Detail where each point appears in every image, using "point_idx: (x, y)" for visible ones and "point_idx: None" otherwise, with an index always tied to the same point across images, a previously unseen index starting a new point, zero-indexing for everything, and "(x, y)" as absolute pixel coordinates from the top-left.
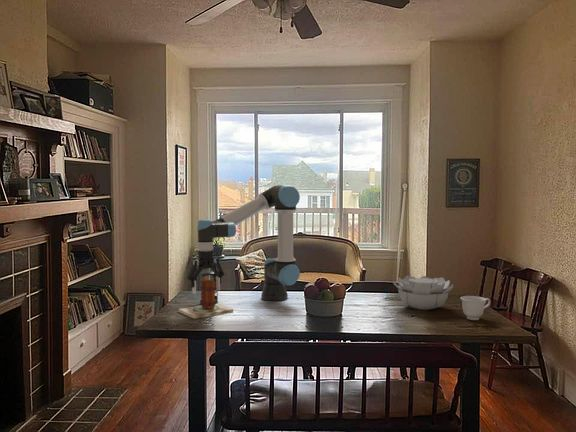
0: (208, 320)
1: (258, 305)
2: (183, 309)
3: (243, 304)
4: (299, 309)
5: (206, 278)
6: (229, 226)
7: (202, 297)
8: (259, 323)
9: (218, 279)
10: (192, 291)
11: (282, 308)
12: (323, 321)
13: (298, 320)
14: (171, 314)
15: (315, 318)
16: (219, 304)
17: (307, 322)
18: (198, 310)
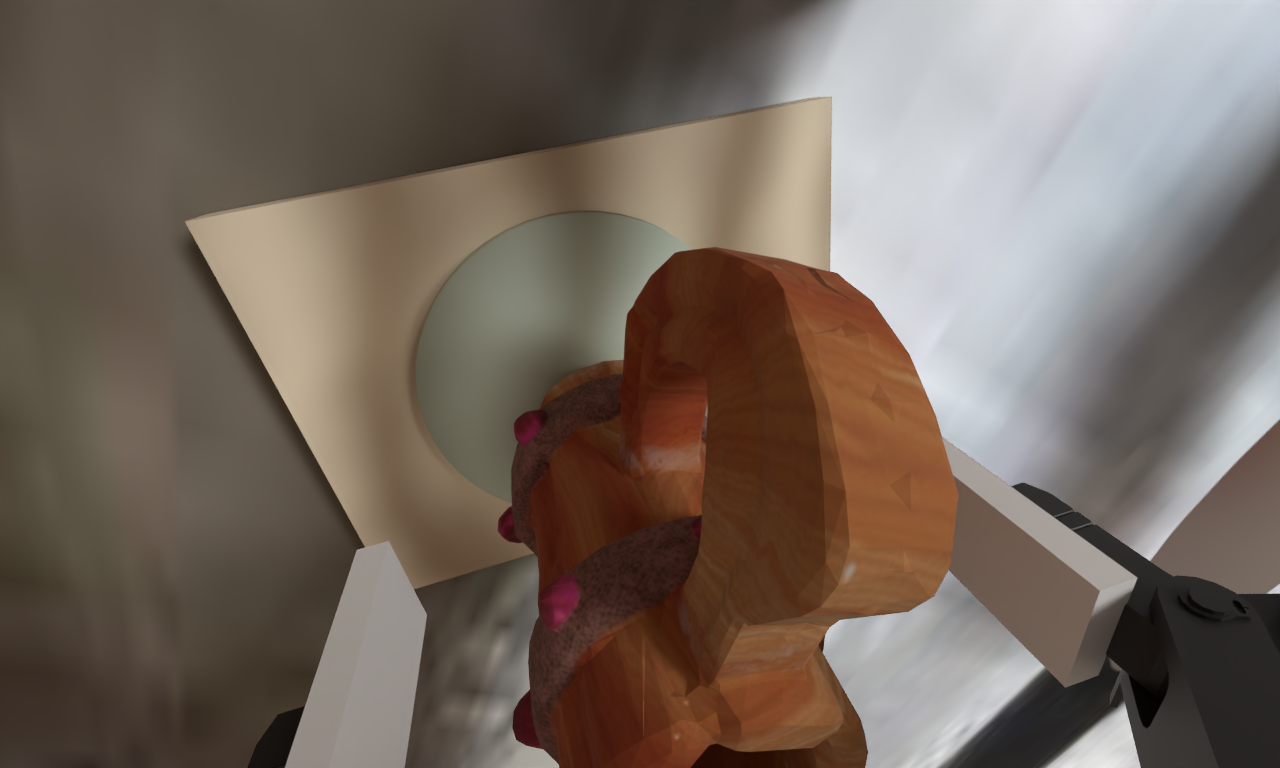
0: (511, 632)
1: (1115, 303)
2: (276, 280)
3: (1065, 194)
4: (1171, 518)
5: (829, 618)
6: None
7: (537, 550)
8: None
9: (1027, 647)
10: (347, 578)
11: (1137, 463)
12: (1037, 729)
13: (977, 705)
14: (87, 308)
15: (1057, 687)
16: (824, 209)
17: (978, 735)
18: (466, 478)
